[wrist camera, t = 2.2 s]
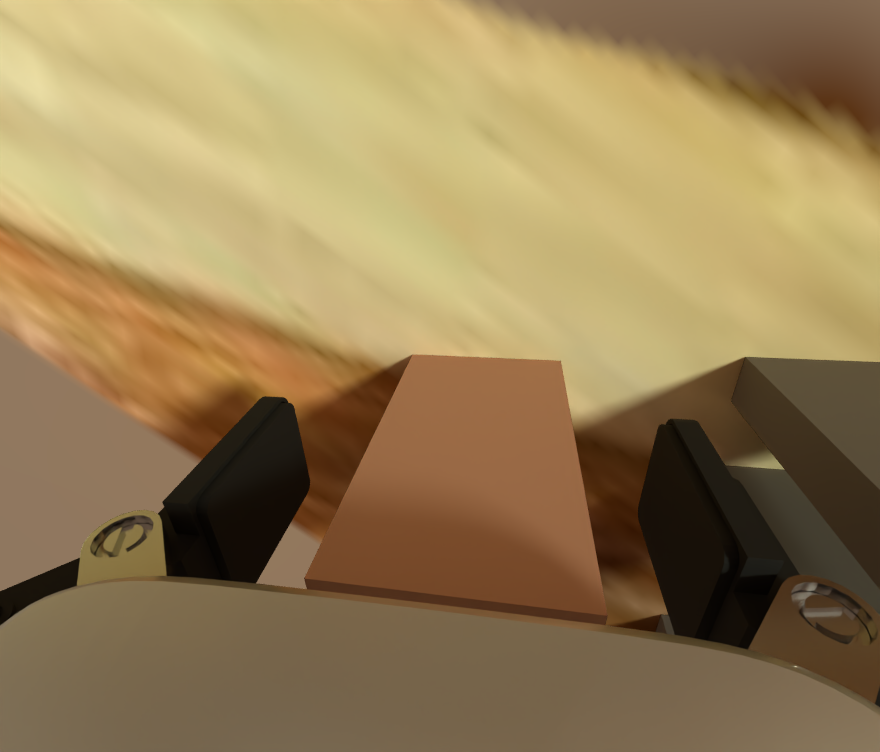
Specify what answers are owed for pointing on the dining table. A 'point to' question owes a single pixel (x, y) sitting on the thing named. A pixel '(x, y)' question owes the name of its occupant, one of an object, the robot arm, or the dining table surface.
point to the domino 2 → (823, 439)
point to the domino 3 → (804, 531)
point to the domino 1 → (469, 497)
